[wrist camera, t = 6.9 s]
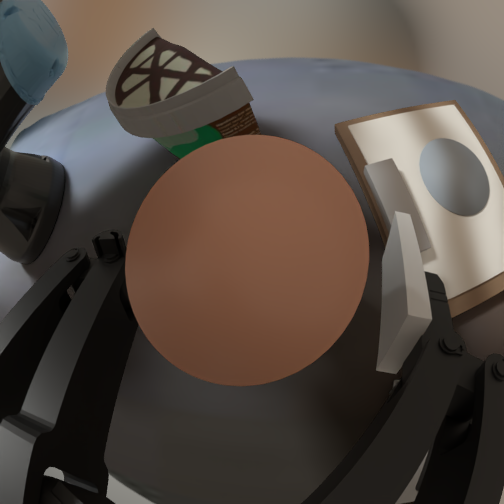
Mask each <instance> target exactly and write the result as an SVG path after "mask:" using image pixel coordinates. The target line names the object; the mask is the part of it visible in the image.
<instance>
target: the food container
mask: <svg viewBox="0 0 504 504" xmlns="http://www.w3.org/2000/svg"><path fill="white" fill-rule="evenodd" d="M106 97H107V100H108V103H109V106H110V109H111V111H112V112H113V114H114V116H115V117H116V119H117V120H118V122H119V123H120V125H121V126H122V127H123V128H124V130H125V131H127V132H129V133H130V134H132V135H135V136H138V137H144V138H153V139H155V140H156V141H157V142H158V143H160V144H161V145H162V146H164V147H165V148H166V149H167V150H169V151H170V152H171V153H172V154H174V155H175V156H176V157H178V158H179V159H182V158H183V157H185V156H186V155H188V154H189V153H191V152H192V151H194V150H196V149H198V148H200V147H202V146H204V145H207V144H209V143H212V142H215V141H217V140H221V139H225V138H229V137H233V136H241V135H261V132H260V130H259V127H258V124H257V122H256V119H255V116H254V114H253V111H252V108H251V106H250V103H249V102H250V101H252V100H254V99H253V98H252V96H251V94H250V92H249V90H248V88H247V87H246V85H245V83H244V81H243V80H242V78H241V77H239V76H238V74H237V72H236V70H235V68H234V66H232V67H230V68H228V69H226V70H225V71H223V72H222V71H221V70H219V69H217V68H215V67H214V66H212V65H211V64H209V63H207V62H206V61H204V60H203V59H201V58H199V57H198V56H196V55H195V54H194V53H192V52H190V51H189V50H187V49H186V48H184V47H182V46H179V45H175V44H172V43H170V42H168V41H166V40H164V39H162V38H161V37H160V36H159V35H158V34H157V32H156V31H155V30H154V28H152V29H151V30H150V31H148V32H147V33H145V34H144V35H143V36H142V37H141V38H139V39H138V40H137V41H136V42H135V43H134V44H133V45H132V46H131V47H130V48H129V49H128V50H127V51H126V52H125V53H124V54H123V56H122V57H121V58H120V59H119V61H118V62H117V64H116V65H115V67H114V68H113V70H112V72H111V74H110V76H109V79H108V81H107V85H106Z"/></svg>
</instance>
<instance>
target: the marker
mask: <svg viewBox="0 0 504 504" xmlns="http://www.w3.org/2000/svg"><path fill="white" fill-rule="evenodd" d="M368 266H369V239H368V233H367V227H366V222H365V219H364V216H363V213H362V210H361V207H360V204H359V202H358V200H357V198H356V196H355V194H354V192H353V190H352V189H351V187H350V186H349V184H348V183H347V182H346V180H345V179H344V177H343V176H342V175H341V174H340V173H339V172H338V171H337V170H336V169H335V167H334V166H333V165H332V164H330V163H329V162H328V161H327V160H325V159H324V158H323V157H322V156H320V155H319V154H318V153H316V152H314V151H312V150H311V149H309V148H307V147H306V146H303V145H301V144H298V143H296V142H294V141H291V140H287V139H284V138H280V137H275V136H268V135H241V136H233V137H229V138H225V139H221V140H217V141H215V142H212V143H209V144H207V145H204V146H202V147H200V148H198V149H196V150H194V151H192V152H191V153H189V154H188V155H186V156H185V157H183V158H182V159H180V160H179V161H178V162H177V163H175V164H174V165H173V166H172V167H170V168H169V169H168V170H167V171H166V172H165V173H164V174H163V175H162V176H161V177H160V178H159V180H158V181H157V182H156V183H155V185H154V186H153V187H152V188H151V190H150V191H149V193H148V194H147V196H146V197H145V199H144V201H143V202H142V204H141V206H140V208H139V210H138V212H137V214H136V217H135V219H134V222H133V225H132V227H131V231H130V235H129V239H128V244H127V250H126V261H125V275H126V286H127V291H128V297H129V300H130V304H131V307H132V310H133V313H134V315H135V317H136V320H137V322H138V324H139V326H140V328H141V329H142V331H143V333H144V334H145V336H146V337H147V339H148V340H149V341H150V343H151V344H152V345H153V346H154V347H155V349H156V350H157V351H158V352H159V353H160V354H161V355H162V356H163V357H164V358H166V359H167V360H168V361H169V362H170V363H172V364H173V365H175V366H176V367H177V368H179V369H180V370H182V371H184V372H186V373H188V374H190V375H192V376H194V377H196V378H199V379H202V380H205V381H208V382H211V383H216V384H221V385H227V386H251V385H261V384H265V383H269V382H273V381H277V380H280V379H282V378H285V377H287V376H290V375H292V374H294V373H296V372H298V371H300V370H302V369H303V368H305V367H306V366H308V365H310V364H311V363H313V362H314V361H315V360H317V359H318V358H319V357H320V356H321V355H323V354H324V353H325V352H326V351H327V350H328V349H329V348H330V347H331V346H332V345H333V344H334V343H335V342H336V340H337V339H338V338H339V337H340V336H341V335H342V333H343V332H344V330H345V329H346V327H347V326H348V324H349V323H350V321H351V319H352V318H353V316H354V314H355V312H356V309H357V307H358V305H359V303H360V301H361V298H362V294H363V291H364V288H365V284H366V280H367V274H368Z"/></svg>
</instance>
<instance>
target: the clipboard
mask: <svg viewBox="0 0 504 504" xmlns="http://www.w3.org/2000/svg"><path fill="white" fill-rule="evenodd" d="M335 135H336V136H337V138H338V140H339V142H340V144H341V146H342V148H343V150H344V152H345V154H346V156H347V158H348V160H349V162H350V164H351V166H352V168H353V170H354V173H355V175H356V177H357V179H358V181H359V184H360V186H361V188H362V190H363V193H364V195H365V197H366V200H367V202H368V204H369V207H370V209H371V212H372V214H373V217H374V219H375V222H376V224H377V227H378V230H379V232H380V235H381V238H382V240H383V243H384V246H385V248H386V244H387V241H388V237H389V233H390V230H391V226H392V222H393V218H394V214H395V211H398V212H402V213H406V214H410V216H411V219H412V223H413V226H414V230H415V234H416V237H417V241H418V245H419V249H420V254H421V258H422V263H423V267H424V271H426V272H430V273H434V274H437V275H438V276H439V277H440V279H441V280H442V282H443V283H444V286H445V290H446V295H447V299H448V304H449V308H450V313H451V318H453V317H455V316H457V315H459V314H461V313H463V312H465V311H467V310H469V309H471V308H473V307H474V306H476V305H478V304H480V303H482V302H484V301H486V300H487V299H489V298H491V297H493V296H494V295H496V294H498V293H499V292H501V291H503V290H504V177H503V175H502V173H501V171H500V169H499V167H498V166H497V164H496V162H495V160H494V158H493V156H492V155H491V153H490V151H489V149H488V148H487V146H486V144H485V143H484V141H483V139H482V138H481V136H480V135H479V133H478V131H477V130H476V128H475V127H474V125H473V124H472V122H471V121H470V120H469V118H468V117H467V115H466V114H465V112H464V111H463V110H462V108H461V107H460V106H459V104H458V103H457V102H456V100H452V101H445V102H437V103H431V104H424V105H418V106H413V107H407V108H402V109H397V110H392V111H387V112H382V113H378V114H373V115H369V116H365V117H361V118H357V119H353V120H349V121H345V122H341V123H337V124H335Z"/></svg>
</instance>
